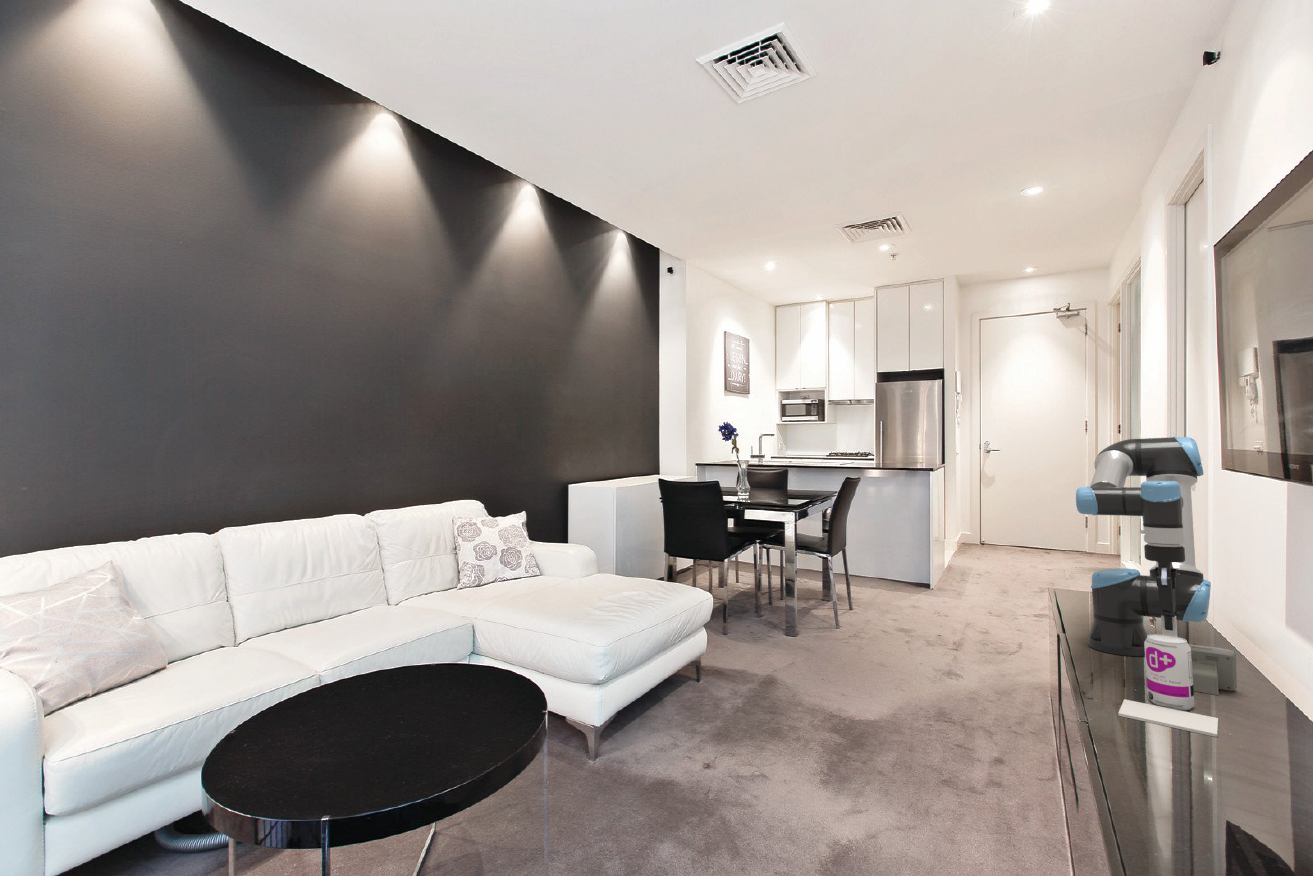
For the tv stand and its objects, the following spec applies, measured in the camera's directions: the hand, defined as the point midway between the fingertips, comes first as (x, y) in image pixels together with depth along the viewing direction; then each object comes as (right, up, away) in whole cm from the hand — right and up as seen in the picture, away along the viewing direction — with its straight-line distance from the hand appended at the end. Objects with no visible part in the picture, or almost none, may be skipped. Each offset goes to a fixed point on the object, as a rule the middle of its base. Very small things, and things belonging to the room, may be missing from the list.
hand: (1170, 642), depth 144 cm
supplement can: (-6, -12, -7) cm, 15 cm away
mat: (-13, -12, -14) cm, 22 cm away
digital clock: (+9, -12, +3) cm, 15 cm away
